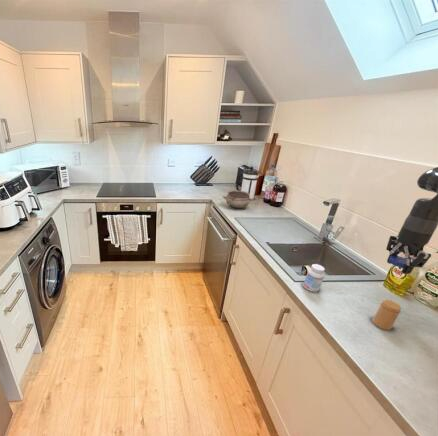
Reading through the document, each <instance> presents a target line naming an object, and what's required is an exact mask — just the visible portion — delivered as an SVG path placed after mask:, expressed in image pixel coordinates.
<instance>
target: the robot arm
mask: <svg viewBox="0 0 438 436" xmlns="http://www.w3.org/2000/svg"><path fill="white" fill-rule="evenodd" d="M416 183H417V186H418V188H420V189H421V190H423V191H427V192H430V193H431V192H432V193H435V196H434V197H432V198H431V197H420V198H418V199H416V200H415V201H414V203H413V206H412V208H411V210H410V212H409V214H408V215H407V216H406V217H405V219H404V221H403V224H402V226H401V228H400V230H399V232H398V234H397V235H390V236H389V238H388V242H387V245H386V248H385V250H386V251H388V253H389V255H388V257H387V260H386V262H387V264H389V265H390V264H391V263H390V262H389V258H390V257H391V256H399V255H400V254H401V253H403V255H404V258H406V264H405V265H404V267H403V268H401V271H400V272H401V274H403V275H409V274H411V273H412V272H413V270H414V268H423V267H424V266H425V264H426V263H427V262H428V261H429V260H430V259H431V258H432V254H431V253H430V252H429V253H427V252H426V251H425V250H424V246H426V245H427V244H429V242H430V240H431V239H432V237H433V235H434V233H435V231H436V229H437V228H438V166H436V167H432V168H431V169H428V170H426V171H425V172H423V173H422V174H421V175H420V176H419V177H418V178H417V181H416ZM391 265H392V264H391Z"/></svg>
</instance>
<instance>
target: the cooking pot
mask: <svg viewBox="0 0 438 436" xmlns="http://www.w3.org/2000/svg"><path fill="white" fill-rule="evenodd" d="M249 196H250V194H249V193H248V192H245V191H238V190H237V189H234V190H228V191H227V195H226V196H224V195H222V198H223V199H224V200H225V201H226V203H227V205H229V207H231V208H233V209H237V210H239V209H243V208H245V207H248V205H250V202H253V201H254V199H255V197H254V198H250V197H249Z"/></svg>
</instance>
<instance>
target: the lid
mask: <svg viewBox="0 0 438 436" xmlns="http://www.w3.org/2000/svg"><path fill="white" fill-rule="evenodd" d="M389 262H390V263H391V265H393V266H395V267H398V268H401V269H403V267H404V265H405V264H406V258H405V257H404V256H399V255H398V256H391V257H390V258H389Z"/></svg>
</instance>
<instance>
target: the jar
mask: <svg viewBox="0 0 438 436" xmlns="http://www.w3.org/2000/svg"><path fill="white" fill-rule="evenodd" d="M401 310H402V306H401V305H400V304H399V303H397V302H395V301H392V300H389V299H386V300H385V299H384V300H382V302H381V303H380V304H379V306H378V308H377V310H376V312H375V314H374V315H373V318H372V323H373V324H374V325H375V326H376V327H378V328H380V329H382V330H386V331H390V330H392V328H393V327H394V324H395V323H396V321H397V319H398V318H399V316H400V314H401V313H402V312H401Z"/></svg>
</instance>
